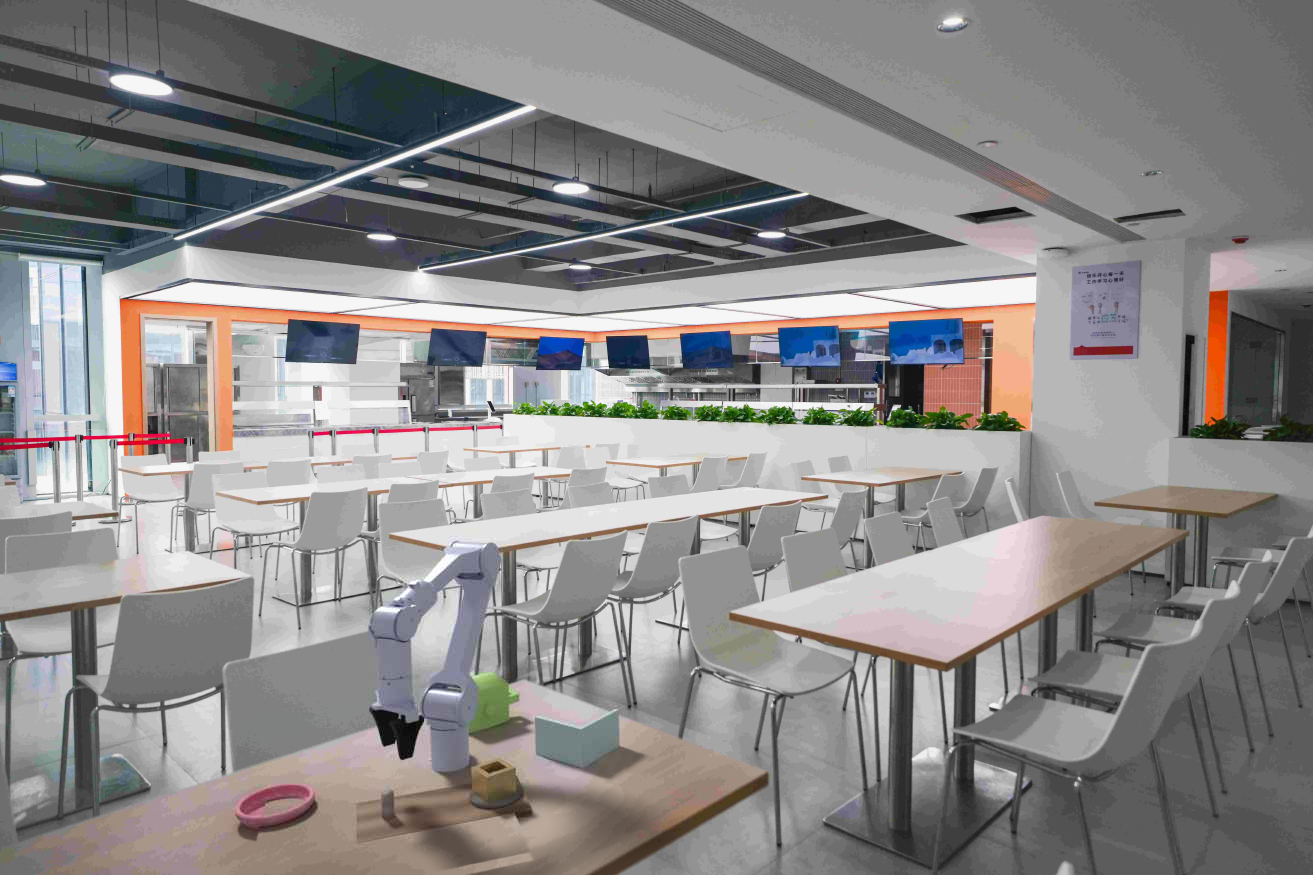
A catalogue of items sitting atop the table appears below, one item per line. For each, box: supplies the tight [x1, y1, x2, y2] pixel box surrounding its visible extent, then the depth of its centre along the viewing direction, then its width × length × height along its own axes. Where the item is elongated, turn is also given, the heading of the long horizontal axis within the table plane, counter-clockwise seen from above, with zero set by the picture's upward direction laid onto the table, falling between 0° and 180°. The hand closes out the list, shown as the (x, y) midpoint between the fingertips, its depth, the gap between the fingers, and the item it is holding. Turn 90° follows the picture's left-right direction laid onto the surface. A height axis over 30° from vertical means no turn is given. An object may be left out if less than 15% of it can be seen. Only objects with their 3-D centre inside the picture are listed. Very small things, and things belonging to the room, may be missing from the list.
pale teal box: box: [534, 708, 621, 769], centre depth 164 cm, size 12×12×8 cm
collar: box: [471, 757, 517, 803], centre depth 142 cm, size 6×6×4 cm
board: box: [356, 771, 533, 844], centre depth 139 cm, size 14×28×5 cm, turn 110°
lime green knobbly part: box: [448, 671, 520, 734], centre depth 178 cm, size 18×10×10 cm, turn 130°
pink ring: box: [234, 782, 316, 831], centre depth 139 cm, size 12×12×3 cm
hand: (397, 751), depth 142 cm, fingers open, 7 cm apart
